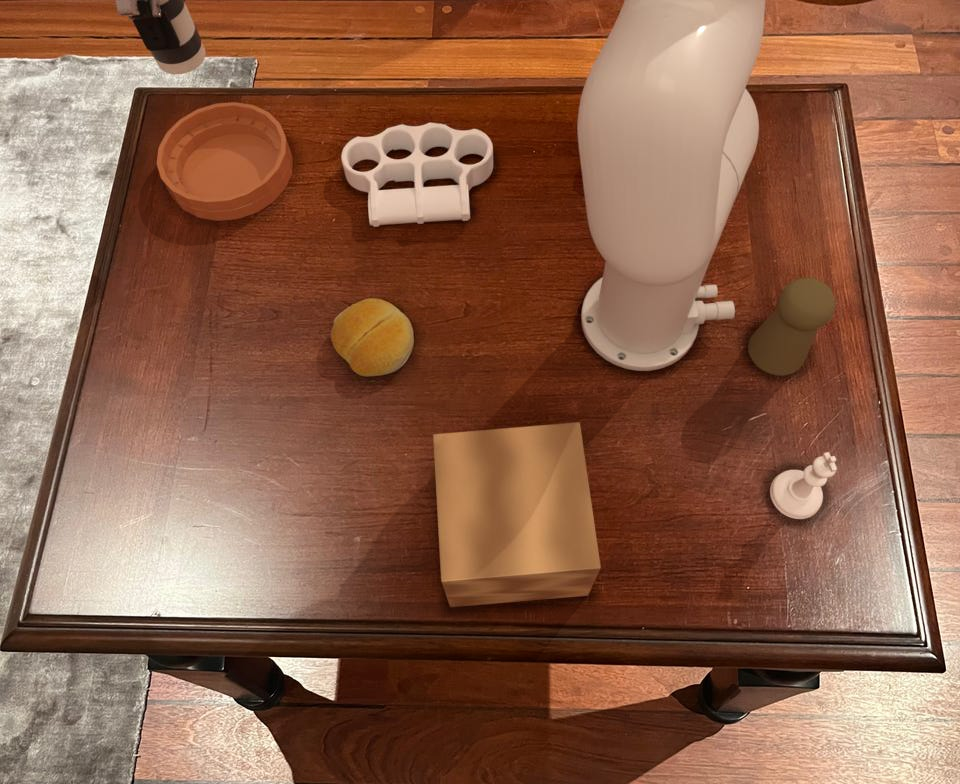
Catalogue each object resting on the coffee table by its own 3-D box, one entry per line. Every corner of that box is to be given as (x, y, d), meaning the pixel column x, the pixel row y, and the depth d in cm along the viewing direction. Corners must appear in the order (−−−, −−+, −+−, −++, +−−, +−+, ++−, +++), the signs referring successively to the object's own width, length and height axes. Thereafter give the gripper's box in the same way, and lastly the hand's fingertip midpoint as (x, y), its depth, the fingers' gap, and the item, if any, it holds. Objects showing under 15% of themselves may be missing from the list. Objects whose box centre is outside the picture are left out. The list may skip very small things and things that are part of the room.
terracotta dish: (295, 121, 101) (287, 97, 98) (292, 217, 95) (283, 195, 91) (175, 131, 101) (163, 107, 98) (164, 228, 95) (150, 206, 91)
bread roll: (371, 393, 84) (365, 376, 81) (322, 338, 87) (314, 319, 84) (432, 347, 86) (429, 329, 83) (382, 295, 90) (376, 275, 86)
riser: (570, 465, 80) (579, 421, 70) (588, 595, 75) (601, 568, 65) (441, 476, 80) (432, 434, 70) (449, 607, 74) (441, 581, 65)
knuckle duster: (344, 234, 93) (346, 139, 100) (498, 224, 93) (490, 129, 100) (339, 216, 90) (341, 119, 97) (498, 205, 90) (489, 109, 97)
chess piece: (783, 525, 77) (820, 492, 68) (761, 479, 79) (794, 440, 70) (830, 511, 77) (873, 476, 68) (807, 465, 79) (845, 425, 70)
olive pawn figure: (745, 369, 84) (777, 315, 74) (750, 321, 87) (782, 262, 77) (803, 380, 83) (844, 327, 74) (807, 331, 86) (847, 274, 76)
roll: (208, 37, 83) (174, -43, 75) (204, 72, 81) (169, -7, 73) (159, 41, 83) (120, -38, 75) (154, 77, 81) (113, -2, 73)
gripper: (109, -108, 58) (198, 86, 75) (135, -236, 66) (211, -34, 82) (7, -99, 58) (119, 93, 75) (45, -228, 66) (139, -28, 82)
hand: (166, 24), depth 78 cm, fingers closed on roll, 5 cm apart
